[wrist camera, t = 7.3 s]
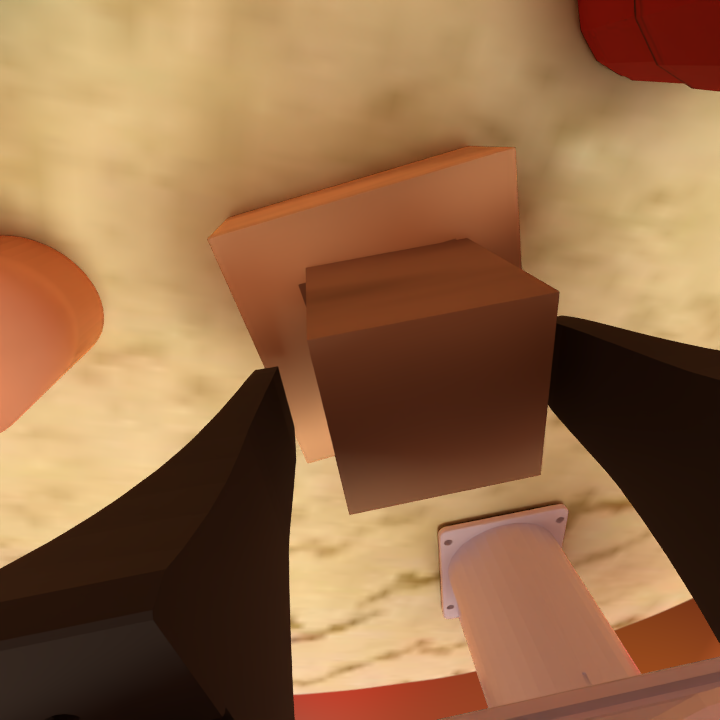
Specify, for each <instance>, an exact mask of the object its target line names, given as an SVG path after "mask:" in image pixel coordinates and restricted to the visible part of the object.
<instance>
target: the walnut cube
mask: <svg viewBox="0 0 720 720" xmlns="http://www.w3.org/2000/svg"><path fill="white" fill-rule="evenodd" d="M558 302H559V291H558V290H556V289H554V288H552V287H551V286H549V285H547V284H546V283H544V282H542V281H540V280H539V279H537V278H535V277H534V276H532V275H530V274H528V273H527V272H525V271H523V270H522V269H520V268H518V267H516V266H515V265H513V264H511V263H510V262H508V261H506V260H504V259H503V258H501V257H499V256H498V255H496V254H494V253H492V252H491V251H489V250H487V249H486V248H484V247H482V246H480V245H479V244H477V243H475V242H473V241H472V240H470V239H468V238H464V239H459V240H453V241H448V242H442V243H437V244H432V245H426V246H421V247H415V248H410V249H405V250H399V251H394V252H388V253H383V254H378V255H372V256H367V257H362V258H356V259H351V260H345V261H340V262H335V263H329V264H324V265H318V266H313V267H308V268H306V318H307V342H308V347H309V351H310V355H311V359H312V363H313V367H314V371H315V375H316V379H317V384H318V388H319V392H320V396H321V400H322V404H323V408H324V412H325V416H326V420H327V425H328V429H329V433H330V437H331V441H332V445H333V449H334V453H335V457H336V462H337V466H338V470H339V474H340V478H341V482H342V486H343V490H344V494H345V499H346V503H347V507H348V511H349V515H351V514H356V513H361V512H365V511H370V510H375V509H380V508H385V507H389V506H394V505H399V504H404V503H409V502H413V501H418V500H423V499H428V498H432V497H437V496H442V495H447V494H452V493H456V492H461V491H466V490H471V489H476V488H480V487H485V486H490V485H495V484H499V483H504V482H509V481H514V480H519V479H523V478H528V477H533V476H538V475H540V474H541V465H542V455H543V446H544V436H545V426H546V417H547V407H548V398H549V388H550V378H551V369H552V359H553V350H554V340H555V331H556V321H557V311H558Z"/></svg>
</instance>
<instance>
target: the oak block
mask: <svg viewBox="0 0 720 720" xmlns="http://www.w3.org/2000/svg"><path fill="white" fill-rule="evenodd" d="M464 238H468V239H470V240H472V241H473V242H475V243H477V244H479V245H480V246H482V247H484V248H486V249H487V250H489V251H491V252H492V253H494V254H496V255H498V256H499V257H501V258H503V259H504V260H506V261H508V262H510V263H511V264H513V265H515V266H516V267H518V268H520V269H522V268H521V249H520V229H519V210H518V190H517V171H516V152H515V147H481V146H467V147H464V148H460V149H457V150H454V151H450V152H447V153H444V154H440V155H437V156H433V157H430V158H427V159H423V160H420V161H417V162H413V163H410V164H407V165H403V166H400V167H397V168H393V169H390V170H386V171H383V172H380V173H376V174H373V175H370V176H366V177H363V178H360V179H356V180H353V181H350V182H346V183H343V184H340V185H336V186H333V187H329V188H326V189H323V190H319V191H316V192H313V193H309V194H306V195H303V196H299V197H296V198H293V199H289V200H286V201H282V202H279V203H276V204H272V205H269V206H266V207H262V208H259V209H256V210H252V211H249V212H246V213H242V214H239V215H235V216H232V217H229V218H227V219H226V220H225V221H224V222H223V223H222V225H221V226H220V227H219V228H218V229H217V230H216V231H215V232H214V233H213V234H212V235H211V236H210V237H209V238H208V242H209V244H210V246H211V248H212V251H213V253H214V255H215V257H216V260H217V262H218V264H219V266H220V269H221V271H222V273H223V275H224V277H225V280H226V282H227V284H228V286H229V289H230V291H231V293H232V295H233V298H234V300H235V302H236V304H237V307H238V309H239V311H240V313H241V315H242V318H243V320H244V322H245V324H246V327H247V329H248V331H249V333H250V336H251V338H252V340H253V342H254V345H255V347H256V349H257V351H258V353H259V356H260V358H261V360H262V362H263V365H264V367H265V368H271V367H276V366H278V368H279V372H280V375H281V379H282V383H283V386H284V390H285V394H286V397H287V401H288V405H289V408H290V412H291V416H292V419H293V423H294V427H295V436H296V438H297V441H298V443H299V445H300V447H301V450H302V452H303V454H304V456H305V459H306V461H307V463H311V462H315V461H318V460H322V459H325V458H328V457H332V456H335V453H334V449H333V445H332V441H331V437H330V433H329V429H328V425H327V420H326V416H325V412H324V408H323V404H322V400H321V396H320V392H319V388H318V384H317V379H316V375H315V371H314V367H313V363H312V359H311V355H310V351H309V347H308V342H307V318H306V268H308V267H313V266H318V265H324V264H329V263H335V262H340V261H345V260H351V259H356V258H362V257H367V256H372V255H378V254H383V253H388V252H394V251H399V250H405V249H410V248H415V247H421V246H426V245H432V244H437V243H442V242H448V241H453V240H459V239H464Z"/></svg>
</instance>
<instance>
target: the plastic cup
mask: <svg viewBox="0 0 720 720" xmlns="http://www.w3.org/2000/svg"><path fill="white" fill-rule="evenodd" d="M578 9H579V18H580V27H581V32H582V34H583V36H584V38H585V39H586V41H587V43H588V45H589V47H590V49H591V51H592V53H593V54H594V56H595V58H596V60H597V61H598V62H600V63H601V64H603V65H605V66H606V67H608V68H609V69H611V70H613V71H614V72H616V73H617V74H619V75H621V76H626V77H628V78H629V79H631V80H636V81H652V82H668V83H684V84H686V85H688V86H689V87H691V88H693V89H702V90H712V91H720V0H578Z"/></svg>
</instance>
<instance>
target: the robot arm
mask: <svg viewBox="0 0 720 720" xmlns="http://www.w3.org/2000/svg"><path fill="white" fill-rule="evenodd" d="M548 405H549V407H550V408H551V410H552V411H553V412H554V413H555V415H556V416H557V417H558V418H559V419H560V420H561V421H562V423H563V424H564V425H565V426H566V427H567V428H568V429H569V431H570V432H571V433H572V434H573V435H574V436H575V437H576V438H577V439H578V441H579V442H580V443H581V444H582V445H583V446H584V447H585V448H586V449H587V451H588V452H589V453H590V454H591V455H592V456H593V457H594V458H595V459H596V461H597V462H598V463H599V464H600V465H601V466H602V467H603V468H604V469H605V471H606V472H607V473H608V474H609V475H610V477H611V478H612V479H613V480H614V481H615V483H616V484H617V485H618V486H619V488H620V489H621V490H622V492H623V493H624V495H625V496H626V497H627V499H628V500H629V502H630V503H631V504H632V506H633V507H634V508H635V510H636V511H637V513H638V514H639V515H640V517H641V518H642V520H643V521H644V522H645V524H646V525H647V527H648V528H649V530H650V531H651V533H652V534H653V536H654V537H655V539H656V540H657V542H658V543H659V545H660V546H661V548H662V549H663V551H664V552H665V554H666V555H667V557H668V558H669V560H670V561H671V563H672V565H673V566H674V568H675V569H676V571H677V573H678V574H679V576H680V577H681V579H682V581H683V582H684V584H685V585H686V587H687V589H688V590H689V592H690V593H691V595H692V597H693V598H694V600H695V601H696V603H697V605H698V607H699V608H700V610H701V612H702V613H703V615H704V617H705V619H706V620H707V622H708V624H709V626H710V627H711V629H712V631H713V633H714V634H715V636H716V638H717V640H718V641H719V643H720V351H719V350H714V349H708V348H703V347H698V346H693V345H689V344H684V343H679V342H675V341H670V340H666V339H662V338H657V337H653V336H649V335H645V334H641V333H637V332H633V331H629V330H625V329H621V328H618V327H614V326H610V325H606V324H602V323H598V322H594V321H589V320H585V319H580V318H575V317H569V316H557V321H556V331H555V340H554V350H553V359H552V369H551V378H550V388H549V398H548ZM295 466H296V444H295V427H294V423H293V419H292V416H291V412H290V408H289V405H288V401H287V397H286V394H285V390H284V386H283V383H282V379H281V375H280V372H279V368H278V366H276V367H271V368H265V369H260V370H255V371H254V372H253V373H252V374H251V375H250V376H249V378H248V379H247V380H246V381H245V382H244V384H243V385H242V386H241V387H240V388H239V390H238V391H237V392H236V393H235V394H234V395H233V397H232V398H231V399H230V400H229V401H228V402H227V404H226V405H225V406H224V407H223V408H222V409H221V410H220V412H219V413H218V414H217V415H216V416H215V417H214V418H213V419H212V420H211V421H210V422H209V423H208V424H207V425H206V426H205V427H204V428H203V429H202V430H201V431H200V432H199V433H198V434H197V435H196V436H195V437H194V438H193V439H192V440H191V441H190V442H189V443H188V444H187V445H186V446H185V447H184V448H182V449H181V450H180V451H179V452H178V453H177V454H176V455H174V456H173V457H172V458H171V459H170V460H169V461H167V462H166V463H165V464H164V465H163V466H161V467H160V468H159V469H158V470H156V471H155V472H154V473H152V474H151V475H150V476H148V477H147V478H146V479H144V480H143V481H142V482H140V483H139V484H137V485H136V486H135V487H133V488H132V489H131V490H129V491H128V492H127V493H125V494H124V495H123V496H121V497H120V498H118V499H117V500H115V501H114V502H113V503H111V504H109V505H108V506H106V507H105V508H103V509H102V510H100V511H99V512H97V513H96V514H94V515H93V516H91V517H90V518H88V519H86V520H85V521H83V522H81V523H80V524H78V525H77V526H75V527H73V528H72V529H70V530H68V531H67V532H65V533H64V534H62V535H60V536H58V537H57V538H55V539H53V540H52V541H50V542H48V543H46V544H45V545H43V546H41V547H39V548H37V549H35V550H34V551H32V552H30V553H28V554H26V555H24V556H23V557H21V558H19V559H17V560H15V561H14V562H12V563H10V564H8V565H6V566H4V567H3V568H1V569H0V720H295V719H294V701H293V680H292V656H291V631H290V595H289V536H290V523H291V512H292V501H293V490H294V478H295ZM567 517H568V509H567V508H566V506H565V505H563V504H556V505H551V506H546V507H541V508H536V509H531V510H526V511H521V512H516V513H511V514H506V515H501V516H496V517H491V518H486V519H481V520H476V521H471V522H466V523H461V524H456V525H451V526H446V527H443V528H442V529H440V531H439V532H438V541H439V560H440V578H441V596H442V612H443V615H444V618H446V619H452V618H457V617H459V619H460V622H461V625H462V629H463V632H464V635H465V638H466V641H467V644H468V647H469V650H470V653H471V656H472V659H473V662H474V665H475V668H476V671H477V674H478V677H479V680H480V683H481V686H482V689H483V693H484V695H485V699H486V702H487V704H488V709H483V710H479V711H475V712H469V713H465V714H460V715H456V716H451V717H447V718H442V719H438V720H720V657H716V658H712V659H707V660H703V661H698V662H694V663H690V664H686V665H681V666H676V667H672V668H667V669H663V670H658V671H654V672H649V673H645V674H641V673H640V671H639V670H638V668H637V666H636V665H635V663H634V662H633V660H632V659H631V657H630V655H629V654H628V652H627V651H626V649H625V648H624V646H623V644H622V643H621V642H620V640H619V638H618V637H617V635H616V633H615V632H614V630H613V629H612V627H611V626H610V624H609V622H608V621H607V619H606V618H605V616H604V615H603V613H602V611H601V610H600V608H599V607H598V605H597V604H596V602H595V600H594V599H593V597H592V596H591V594H590V593H589V591H588V589H587V588H586V586H585V585H584V583H583V582H582V580H581V579H580V577H579V575H578V574H577V572H576V571H575V569H574V568H573V566H572V564H571V563H570V561H569V560H568V558H567V557H566V555H565V553H564V552H563V550H562V544H563V539H564V533H565V528H566V523H567Z"/></svg>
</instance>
